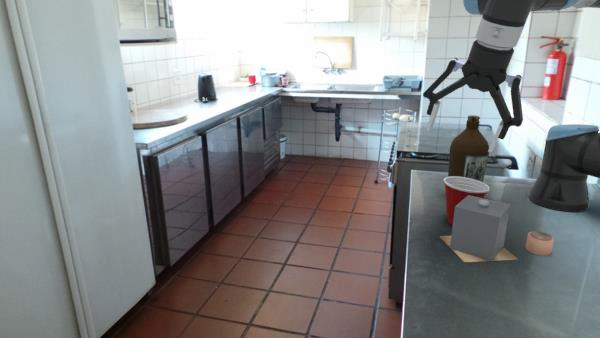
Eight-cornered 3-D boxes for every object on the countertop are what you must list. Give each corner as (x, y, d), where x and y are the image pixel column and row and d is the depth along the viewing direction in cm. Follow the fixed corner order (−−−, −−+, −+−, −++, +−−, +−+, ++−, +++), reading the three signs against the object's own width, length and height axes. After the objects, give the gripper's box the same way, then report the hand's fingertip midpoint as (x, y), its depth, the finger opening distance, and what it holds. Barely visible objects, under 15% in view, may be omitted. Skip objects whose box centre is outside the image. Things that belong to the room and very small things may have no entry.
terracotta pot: (540, 248, 94) (544, 230, 92) (555, 259, 89) (559, 240, 88) (519, 249, 93) (523, 231, 92) (534, 260, 88) (538, 241, 87)
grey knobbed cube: (462, 234, 98) (468, 190, 94) (503, 245, 92) (511, 200, 89) (449, 248, 91) (455, 202, 88) (492, 261, 86) (500, 212, 82)
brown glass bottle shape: (437, 193, 127) (446, 113, 120) (467, 191, 130) (478, 112, 122) (457, 206, 117) (468, 120, 110) (489, 203, 120) (503, 118, 112)
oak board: (486, 238, 98) (487, 234, 98) (517, 264, 87) (518, 259, 87) (438, 240, 97) (439, 236, 97) (463, 267, 86) (464, 262, 85)
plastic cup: (487, 238, 99) (495, 191, 95) (440, 233, 101) (446, 187, 97) (478, 219, 109) (485, 176, 105) (436, 216, 111) (441, 173, 107)
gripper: (425, 32, 80) (400, 126, 93) (564, 67, 71) (515, 167, 83) (436, 24, 86) (411, 114, 98) (567, 56, 76) (521, 151, 88)
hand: (459, 138), depth 91 cm, fingers open, 13 cm apart
